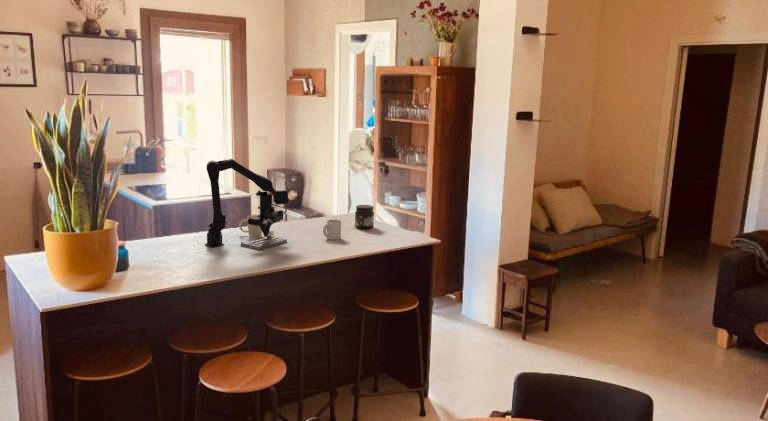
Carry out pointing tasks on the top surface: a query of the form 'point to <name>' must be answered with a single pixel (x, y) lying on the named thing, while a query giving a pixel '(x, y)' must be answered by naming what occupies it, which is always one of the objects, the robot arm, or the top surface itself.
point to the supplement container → (364, 217)
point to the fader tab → (270, 234)
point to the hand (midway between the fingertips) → (265, 236)
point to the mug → (251, 227)
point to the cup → (332, 229)
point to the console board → (263, 243)
